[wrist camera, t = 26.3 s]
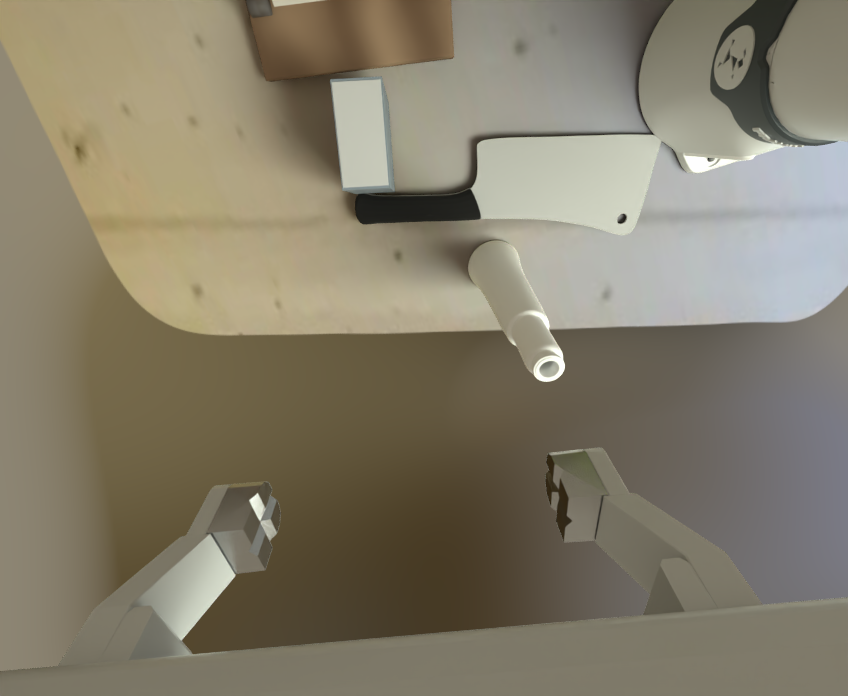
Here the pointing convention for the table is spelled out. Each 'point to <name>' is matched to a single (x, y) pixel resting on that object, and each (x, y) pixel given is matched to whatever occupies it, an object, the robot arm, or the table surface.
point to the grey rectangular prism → (363, 135)
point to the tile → (290, 2)
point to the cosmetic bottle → (516, 307)
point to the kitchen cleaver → (539, 184)
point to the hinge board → (349, 35)
